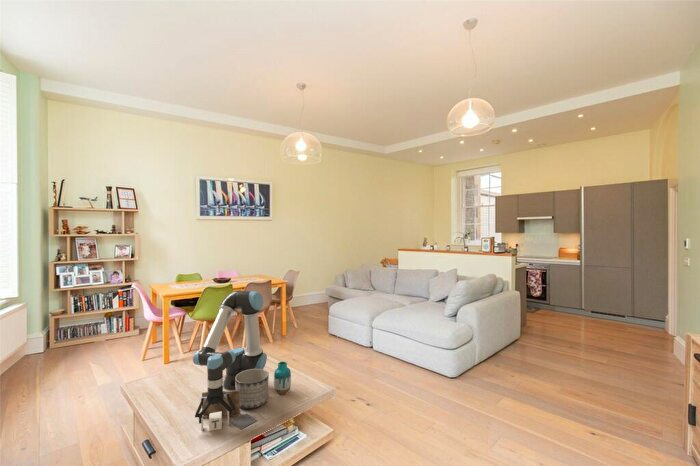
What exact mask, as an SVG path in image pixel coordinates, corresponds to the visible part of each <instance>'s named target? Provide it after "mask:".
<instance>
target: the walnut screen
mask: <svg viewBox="0 0 700 466" xmlns="http://www.w3.org/2000/svg"><path fill="white" fill-rule="evenodd" d="M227 392H229V396H230V398H231V400H232V402H233V404H234V406H235V410H233V411H232V412H231V418H235V417H238V416H239V414H240V412H241V411H240V410H241V409H240V408H241V407H240V390H223V394H225V393H227ZM207 395H208V391H203V392H201V397H202V396H204V397H207ZM223 400H224V401H225V402H226V403H227V404H228V405H229V406H230V404H229V402H228V400H227V398H225V396H224V397H223ZM207 402H208V400H207V399H206V400H205V402H203V405H202V407H201V411H202V410H203V408H204V407H205V405H206V404H207ZM230 407H231V406H230ZM221 411H222V416H228V410H227V409H226V408H225V407H224V406H223V405H222V404H220V403H218V404H213V405H212V404H211V405H210V406H209V407H208V409H207V410H206V411H205V413H204V414H203V420H204V419H209V414H210V413H215V412H221Z"/></svg>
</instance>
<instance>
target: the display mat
mask: <svg viewBox="0 0 700 466" xmlns="http://www.w3.org/2000/svg"><path fill="white" fill-rule="evenodd" d="M256 422H258V419H256V418H255V417H254V416H251V415H250V414H248V413H245V414H242V415H241V416H240V417H237V418H235V419H233V420H231V421H230V423H231V424H232V425H234V426H235V427H236V428H238V429H239V430H243V429H245V428H247V427H248V425H249V426H250V424H251V425H252V424H254V423H256Z"/></svg>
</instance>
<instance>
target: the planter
mask: <svg viewBox="0 0 700 466" xmlns="http://www.w3.org/2000/svg"><path fill="white" fill-rule="evenodd" d="M269 375H270V374H269V371H268V370H265V369H249V370H245V371H242V372H240V373H239V374H237V375H236V377H235V388H236V390H240V408H241V409H255V408H259V407H261V406H263V405H265V403H267V401H268V399H269V377H270V376H269Z"/></svg>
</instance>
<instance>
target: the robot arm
mask: <svg viewBox="0 0 700 466" xmlns="http://www.w3.org/2000/svg"><path fill="white" fill-rule="evenodd" d="M263 306H264V298H263V295H262V293H260V292H259V291H255V290H235V291H231V292H230V293H228V295H227V296H225V297H224V299H223V300H221V303H220V304H219V307H218V310H219V311H218V313H217V315H216V317H215V320H214V322H213V324H212V326H211V328H210V330H209V332H208V334H207V336H206V339H205V341H204V343H203V345H202V347H201V350H197V351H196V352H195V353H194V354H193V356H192V363H193V364H194V365H196V366H201V367H203V366H204V367H206V369H207V373H206V374H207V382H206V383H207V392H208V395H207V397H204V396H202V395H201V397H200V402H199V404H198V407H197V408H196V411H195V415H194V417H195V418H198V424H199V425H201V431H203V430H204V419H203V414H204V413H205V411H206V410H207V409H208V407H209V406H210V405H211V404H212V405H213V404H218V403H220V404H222V405H223V406H224V407H225V408H226V409H227V410H228V415H227V426H229V425H230V418H232V414H231V412H232V411H233V410H235V406H234V404H233V402H232V400H231V398H230V396H229V392H227V393H225V394H223V391H224V389H225V390H226V391H233V390H236V388H235V377H236V375H237V374H239V373H240V372H242V371H245V370H249V369H263V370H265V369H264V368H265V366H266V364H267V360H268V354H267V353H266V352H264V349H263V348H262V347H261V340H260V338H261V336H260V326H259V325H260V324H259V323H260V322H259V313H260V311H261V310H262V309H263ZM236 310H240V313H241V315H242V316H243V318H244V320H243V322H244V330H245V331H244V332H245V333H244V335H245V342H246V349H245V348H244V347H238V348H233V349H231V350H227V351H224V352H217V351H216V350H217V349H218V346H219V344H220V341H221V340H222V337H223V335H224V333H225V330H226V327H227V325H228V323H229V321H230V319H231V316H232V315H233V314H234V313H235V311H236ZM224 370H225V377H224V376H223V375H224ZM224 396H225V398H227V400H228V402H229V404H230V406H231V407H230V406H229V405H228V404H227V403H226V402H225V401H224V400H223V397H224ZM206 399H207V400H208V402H207V404H206V405H205V407H204V408H203V410H202V405H203V402H205V400H206Z"/></svg>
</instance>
